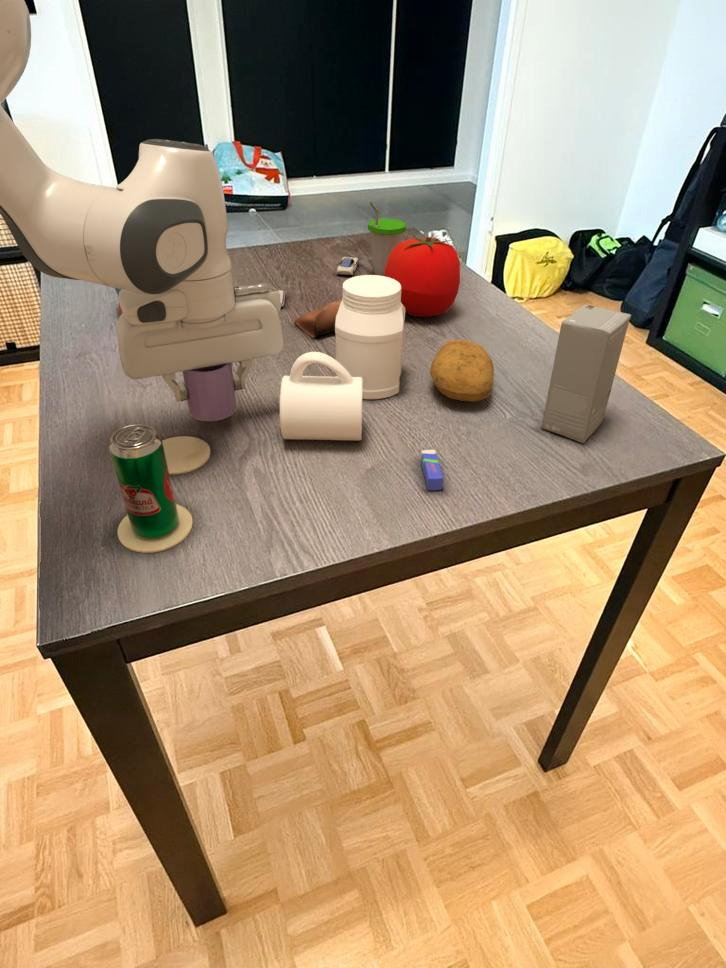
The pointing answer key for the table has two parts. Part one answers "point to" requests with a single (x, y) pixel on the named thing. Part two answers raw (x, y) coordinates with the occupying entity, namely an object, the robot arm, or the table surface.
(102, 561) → the table surface
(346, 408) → the mug
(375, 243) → the cup
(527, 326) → the table surface
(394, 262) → the tomato
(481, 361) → the potato
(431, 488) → the eraser
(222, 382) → the purple tumbler
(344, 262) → the toy car
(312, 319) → the sunglasses case
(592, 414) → the cosmetic box
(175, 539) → the coasters
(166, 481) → the soda can
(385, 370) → the jar
